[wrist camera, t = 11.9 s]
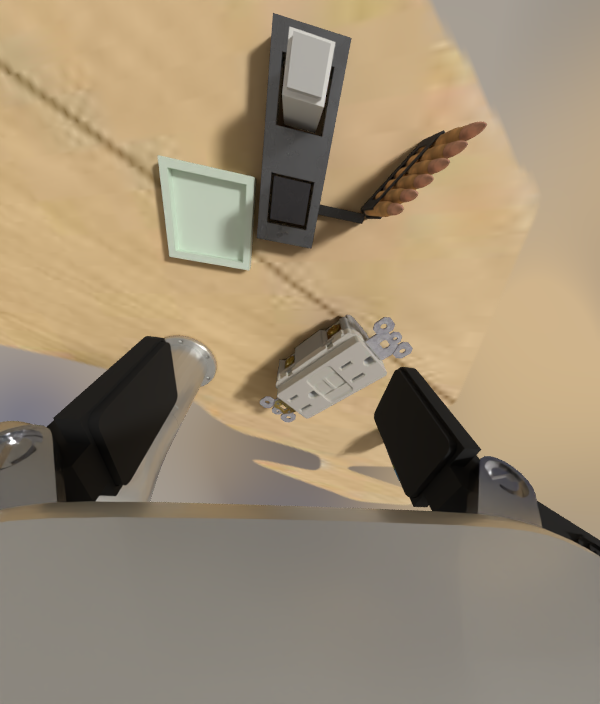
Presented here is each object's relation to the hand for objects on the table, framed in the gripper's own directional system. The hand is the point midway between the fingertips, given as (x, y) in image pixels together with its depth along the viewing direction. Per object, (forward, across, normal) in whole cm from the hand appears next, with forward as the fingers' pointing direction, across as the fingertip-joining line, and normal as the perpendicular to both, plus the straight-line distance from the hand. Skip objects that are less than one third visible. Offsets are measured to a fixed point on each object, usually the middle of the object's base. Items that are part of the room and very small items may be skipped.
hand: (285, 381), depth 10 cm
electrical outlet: (+32, -10, +18) cm, 38 cm away
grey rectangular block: (+32, 0, -17) cm, 36 cm away
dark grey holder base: (+32, -3, -12) cm, 34 cm away
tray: (+32, +12, -3) cm, 34 cm away
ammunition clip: (+32, -14, -12) cm, 37 cm away
